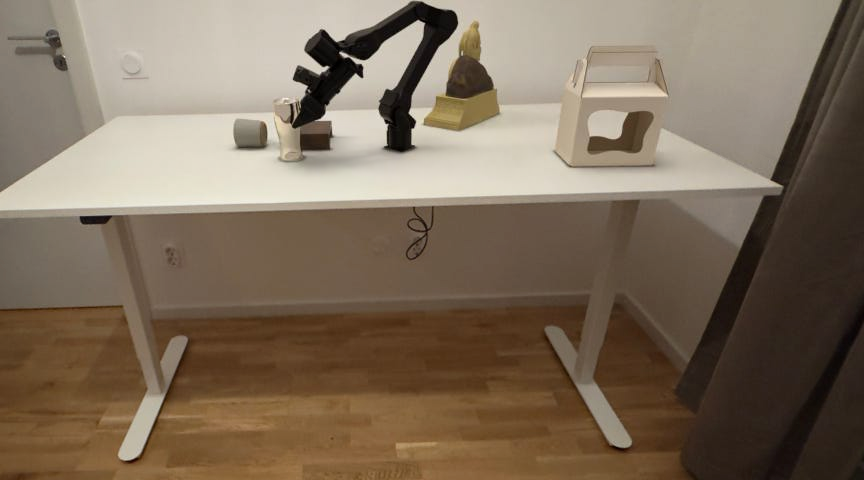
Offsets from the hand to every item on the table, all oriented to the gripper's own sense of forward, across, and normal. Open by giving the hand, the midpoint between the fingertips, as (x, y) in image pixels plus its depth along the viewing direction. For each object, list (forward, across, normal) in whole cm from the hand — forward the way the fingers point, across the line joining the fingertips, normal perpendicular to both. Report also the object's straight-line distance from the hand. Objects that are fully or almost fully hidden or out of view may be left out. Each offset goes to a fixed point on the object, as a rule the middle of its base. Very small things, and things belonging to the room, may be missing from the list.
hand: (294, 122), depth 138 cm
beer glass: (+8, 0, +6) cm, 10 cm away
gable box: (-51, +5, +64) cm, 82 cm away
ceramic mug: (+17, -13, -3) cm, 22 cm away
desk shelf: (+5, -14, +8) cm, 17 cm away
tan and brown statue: (-30, -39, +43) cm, 65 cm away
